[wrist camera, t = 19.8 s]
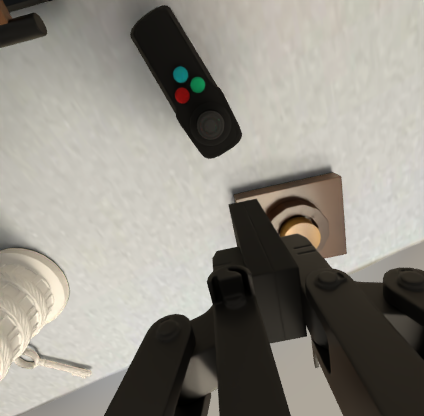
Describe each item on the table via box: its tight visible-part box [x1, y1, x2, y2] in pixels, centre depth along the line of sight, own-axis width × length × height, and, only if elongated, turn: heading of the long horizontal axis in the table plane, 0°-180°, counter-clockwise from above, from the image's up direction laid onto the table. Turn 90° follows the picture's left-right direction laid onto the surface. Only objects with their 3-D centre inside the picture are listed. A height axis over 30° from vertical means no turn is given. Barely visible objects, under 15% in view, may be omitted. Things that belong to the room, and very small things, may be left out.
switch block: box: [234, 172, 347, 258], centre depth 32 cm, size 12×10×4 cm
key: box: [14, 348, 92, 378], centre depth 40 cm, size 12×1×4 cm
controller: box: [130, 5, 242, 159], centre depth 24 cm, size 4×12×10 cm, turn 32°
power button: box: [280, 217, 321, 248], centre depth 30 cm, size 4×4×2 cm
